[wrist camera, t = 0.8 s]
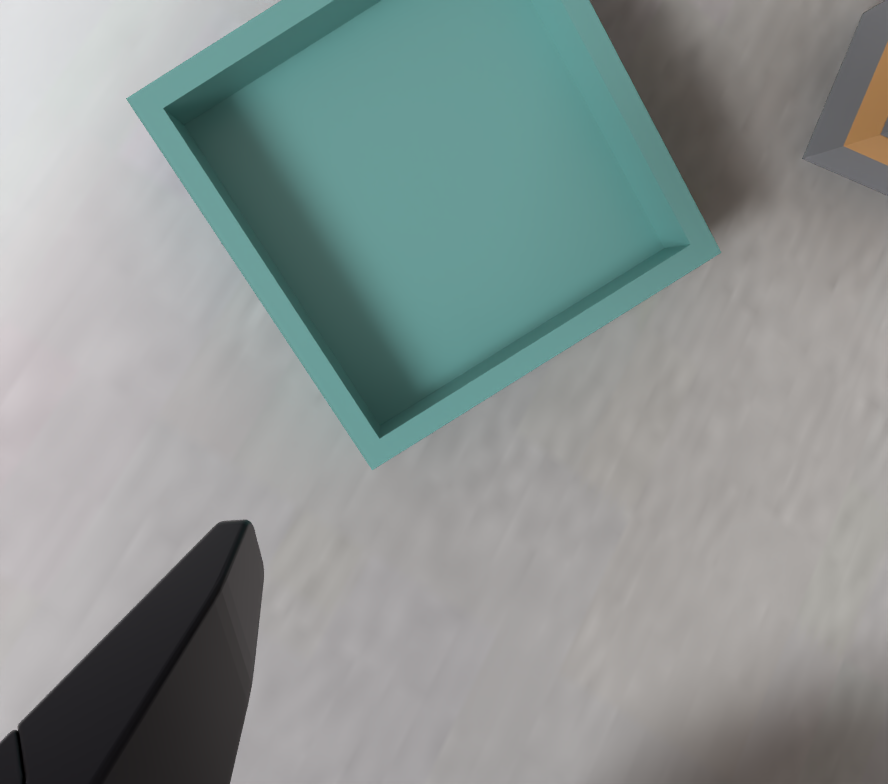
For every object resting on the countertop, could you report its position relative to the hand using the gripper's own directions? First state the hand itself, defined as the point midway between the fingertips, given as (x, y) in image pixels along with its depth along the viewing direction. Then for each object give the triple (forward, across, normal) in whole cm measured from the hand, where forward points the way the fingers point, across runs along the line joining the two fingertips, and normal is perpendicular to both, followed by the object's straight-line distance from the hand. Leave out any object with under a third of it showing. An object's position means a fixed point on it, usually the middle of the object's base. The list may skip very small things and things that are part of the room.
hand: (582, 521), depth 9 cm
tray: (+16, +2, 0) cm, 16 cm away
